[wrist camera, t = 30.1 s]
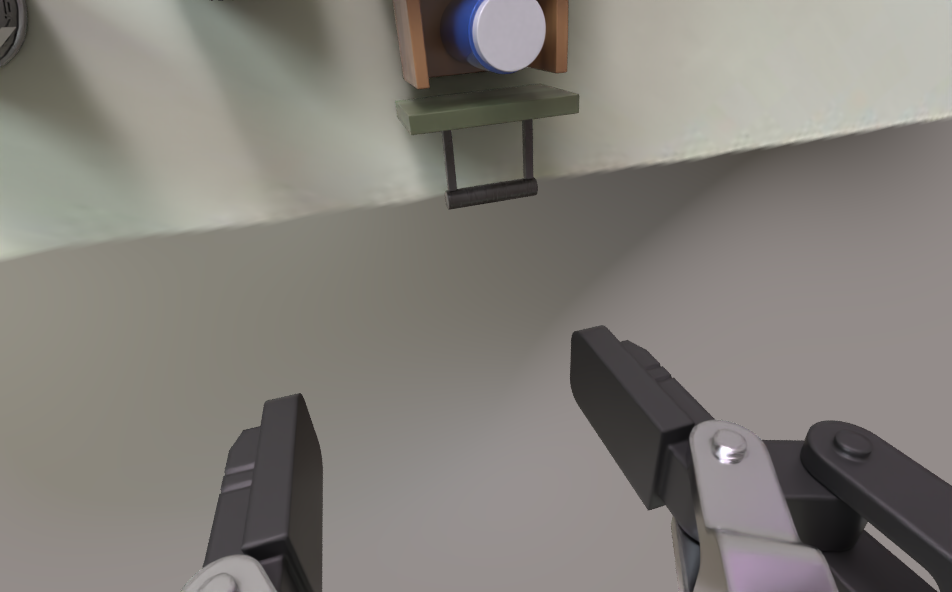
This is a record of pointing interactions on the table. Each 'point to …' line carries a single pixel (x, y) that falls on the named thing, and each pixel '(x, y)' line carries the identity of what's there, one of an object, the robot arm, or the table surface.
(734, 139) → the table surface
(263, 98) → the table surface
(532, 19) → the pepper shaker
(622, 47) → the table surface
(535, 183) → the drawer
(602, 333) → the robot arm
